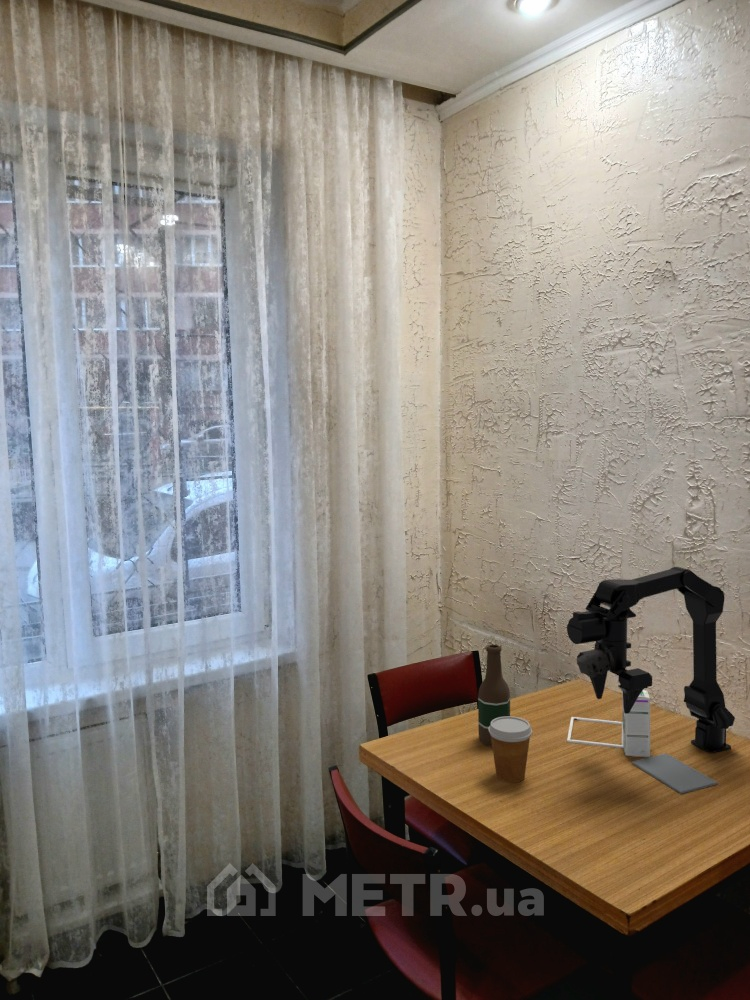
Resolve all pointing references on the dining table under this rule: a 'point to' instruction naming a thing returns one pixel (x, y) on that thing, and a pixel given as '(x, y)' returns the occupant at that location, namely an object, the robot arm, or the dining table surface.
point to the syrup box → (637, 727)
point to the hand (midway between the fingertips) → (612, 705)
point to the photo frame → (594, 742)
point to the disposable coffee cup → (510, 747)
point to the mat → (674, 773)
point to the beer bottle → (492, 694)
